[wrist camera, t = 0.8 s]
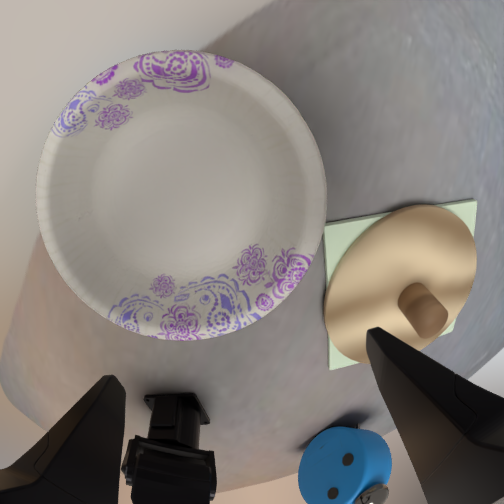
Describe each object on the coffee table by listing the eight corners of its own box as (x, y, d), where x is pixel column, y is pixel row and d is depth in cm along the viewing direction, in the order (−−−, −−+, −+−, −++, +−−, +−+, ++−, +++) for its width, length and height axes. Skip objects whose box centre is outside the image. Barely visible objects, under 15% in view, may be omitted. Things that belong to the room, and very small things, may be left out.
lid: (454, 332, 28) (474, 358, 23) (325, 374, 28) (336, 410, 24) (480, 195, 20) (515, 212, 16) (316, 221, 21) (338, 249, 16)
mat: (449, 328, 28) (452, 331, 27) (328, 366, 28) (329, 370, 28) (473, 199, 21) (477, 200, 20) (321, 223, 21) (324, 226, 21)
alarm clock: (319, 453, 39) (335, 527, 25) (290, 449, 37) (303, 531, 23) (377, 412, 34) (408, 497, 21) (349, 407, 33) (380, 504, 19)
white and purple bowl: (210, 34, 15) (196, -14, 8) (334, 202, 21) (381, 245, 14) (59, 172, 18) (-5, 202, 11) (179, 307, 24) (163, 377, 17)
